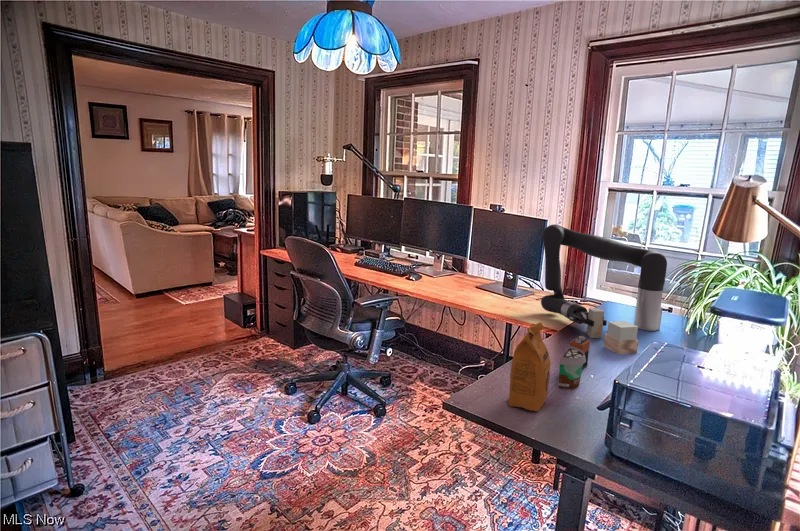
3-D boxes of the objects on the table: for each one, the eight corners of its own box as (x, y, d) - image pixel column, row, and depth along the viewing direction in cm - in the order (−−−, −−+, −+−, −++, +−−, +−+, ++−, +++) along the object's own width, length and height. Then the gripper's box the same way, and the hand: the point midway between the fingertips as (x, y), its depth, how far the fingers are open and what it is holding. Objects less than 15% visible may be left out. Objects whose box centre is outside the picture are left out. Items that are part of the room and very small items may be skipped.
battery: (587, 365, 152) (590, 337, 150) (580, 371, 147) (583, 342, 145) (574, 362, 155) (577, 334, 153) (567, 367, 150) (569, 339, 148)
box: (601, 338, 180) (604, 311, 178) (591, 338, 180) (593, 311, 178) (596, 334, 185) (599, 308, 183) (585, 333, 185) (588, 307, 183)
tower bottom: (621, 345, 173) (623, 333, 172) (636, 353, 165) (638, 340, 164) (603, 346, 171) (604, 334, 170) (617, 354, 163) (619, 341, 163)
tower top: (623, 333, 171) (624, 321, 170) (636, 339, 165) (638, 326, 164) (607, 334, 170) (608, 321, 169) (619, 340, 163) (621, 327, 162)
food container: (578, 395, 130) (582, 362, 129) (556, 389, 133) (559, 357, 132) (586, 380, 141) (589, 349, 139) (566, 375, 144) (569, 345, 142)
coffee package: (553, 399, 127) (560, 324, 123) (538, 417, 117) (545, 335, 113) (519, 389, 133) (524, 317, 129) (502, 405, 123) (507, 327, 119)
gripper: (559, 304, 193) (584, 315, 177) (589, 302, 196) (616, 313, 180) (558, 321, 194) (582, 333, 178) (587, 319, 198) (614, 331, 181)
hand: (599, 323), depth 179 cm, fingers closed on box, 5 cm apart
